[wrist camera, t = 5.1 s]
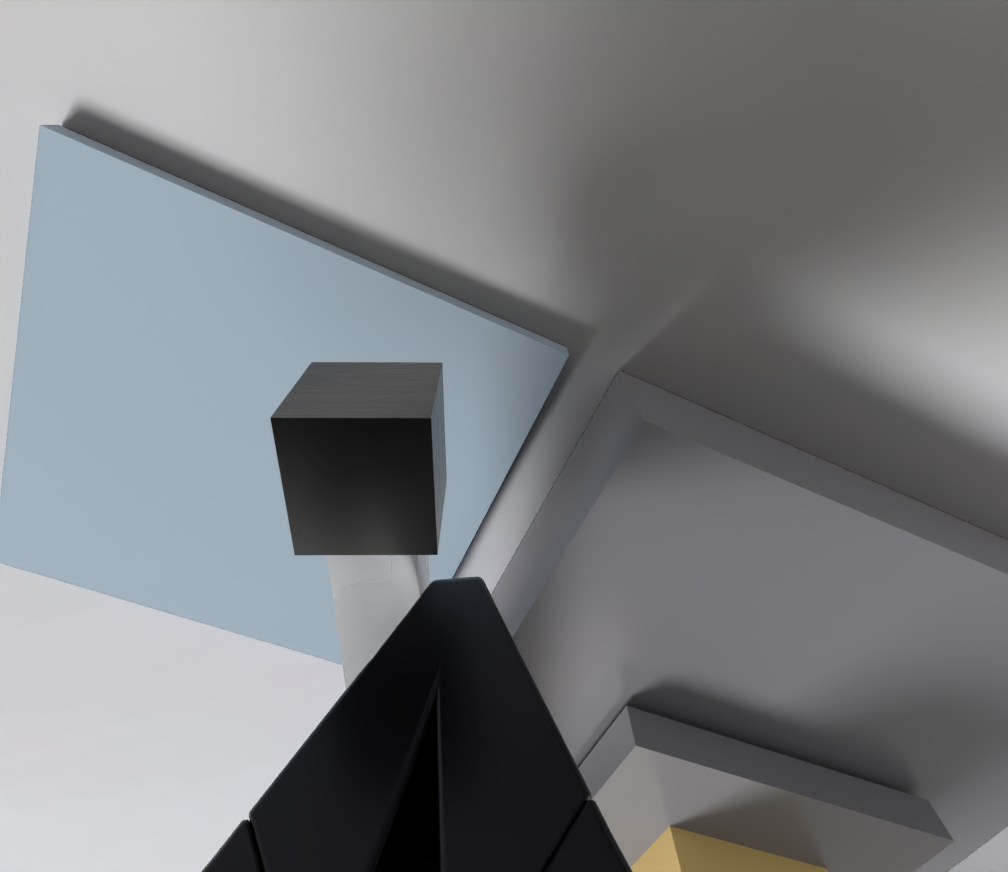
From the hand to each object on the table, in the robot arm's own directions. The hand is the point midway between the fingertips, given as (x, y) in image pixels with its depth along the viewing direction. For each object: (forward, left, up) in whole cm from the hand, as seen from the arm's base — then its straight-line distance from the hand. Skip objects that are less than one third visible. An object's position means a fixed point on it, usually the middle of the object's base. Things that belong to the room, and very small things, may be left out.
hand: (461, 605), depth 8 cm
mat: (-2, +3, -4) cm, 5 cm away
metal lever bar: (-6, -2, -2) cm, 6 cm away
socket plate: (-6, -8, -4) cm, 10 cm away
